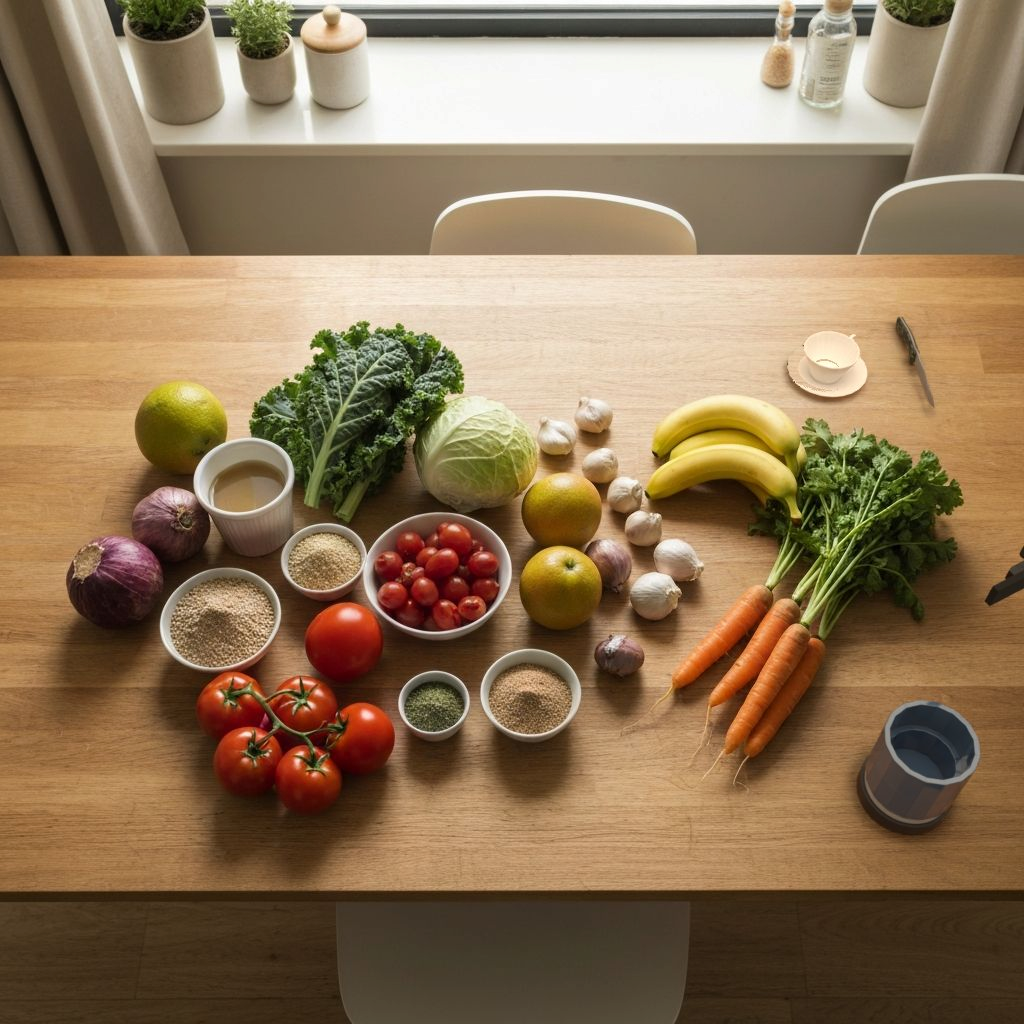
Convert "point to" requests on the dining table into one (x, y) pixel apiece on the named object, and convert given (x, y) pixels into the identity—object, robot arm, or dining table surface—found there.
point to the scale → (890, 818)
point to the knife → (914, 356)
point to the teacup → (832, 364)
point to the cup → (922, 759)
